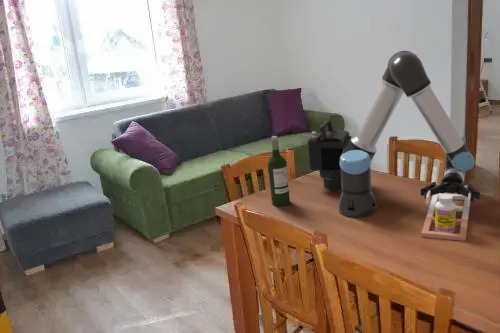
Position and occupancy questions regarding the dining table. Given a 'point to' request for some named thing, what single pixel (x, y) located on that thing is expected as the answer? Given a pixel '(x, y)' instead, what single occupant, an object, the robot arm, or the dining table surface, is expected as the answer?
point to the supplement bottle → (445, 214)
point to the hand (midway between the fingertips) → (447, 202)
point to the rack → (462, 222)
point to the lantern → (328, 154)
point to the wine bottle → (278, 176)
